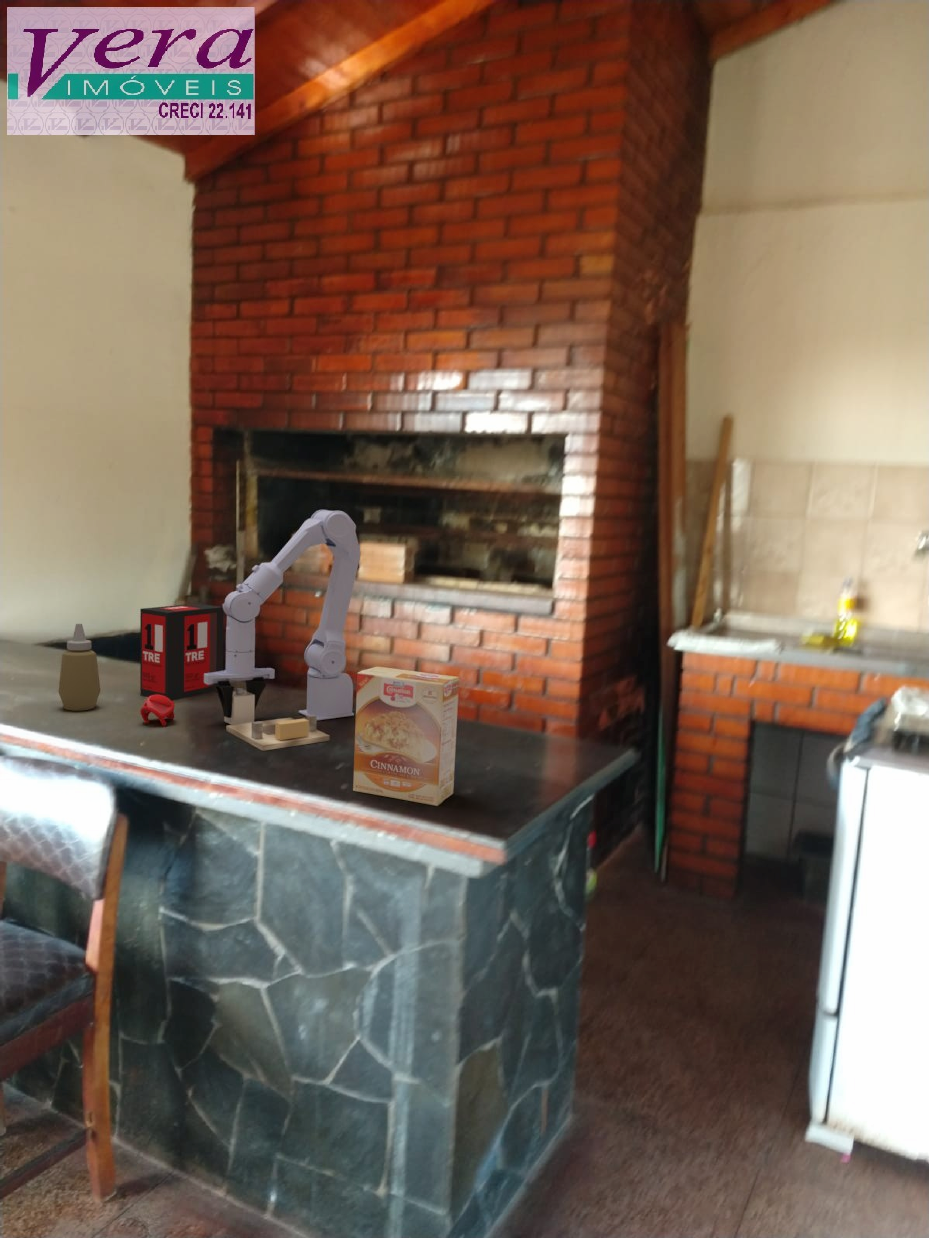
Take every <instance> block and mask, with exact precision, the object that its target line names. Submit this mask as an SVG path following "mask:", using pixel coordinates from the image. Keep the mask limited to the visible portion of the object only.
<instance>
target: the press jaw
mask: <svg viewBox="0 0 929 1238" xmlns="http://www.w3.org/2000/svg"><path fill="white" fill-rule="evenodd" d="M306 736H309V721H308V720H306V718H297V719H295V720H289V721H281V722H275V738H277V739H279V740H285V739H292V738H299V737H306Z"/></svg>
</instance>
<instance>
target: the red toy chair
mask: <svg viewBox="0 0 929 1238" xmlns="http://www.w3.org/2000/svg"><path fill="white" fill-rule="evenodd" d="M174 711H175V701H174V700H173V701H171V700H170V699H169V698H167V697H165V696H163V695H151V696H149V697H146V700H145V701H144V704H143V705H142V707H141V708H140V711H139V712H140V715H141V717H142V719H143V722H144V723H145V724H149V723H150V719H149V715H150V714H151V713H152V714H153V715H154V716H156V717H157V719H159V721H160V724H161V725H162V726H163V727H166V725H167V722H166V720H165V719H166V718H167V719H168V720H173V719H174V718H175V712H174Z"/></svg>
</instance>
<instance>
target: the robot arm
mask: <svg viewBox="0 0 929 1238" xmlns="http://www.w3.org/2000/svg"><path fill="white" fill-rule="evenodd" d="M355 523H356V522H354V521H353V519H352V518H351V516H349V514H348V513H346V512H345V511H342V510H328V509H319V510H316V511H315V512H314V513H313V514H312V515H311V517H310V518H307V519H306V520H304V522H303V523H302V524H301V526H300V527H299V529H298V530H297V531H296V532H295V533H294V534H293V535H292V537H291V538H290V539H289V540H288V542H286V544H285V545H284V546H283V547H282V549H280V551H279V552H278V553H277V555H275V557H273V559H272V560H271V561H269V562H261V563H260V564H259V565H258V564H256V565H254V566H253V567H252V568H251V571H252V573H251V574H250V575H249V576H248V577H247V578H246V579H245V580H244V581H243V582H242V583H238V584H237V585H236V589H237V590H235V591H231V592H230V593H228V595H226V597H225V599H224V603H222V607H223V610H224V613H225V615H226V627H225V630H226V631H225V669H224V670H223V671H218V672H213V673H205V674H204V683H205V684H207V685H210V684H213V686H214V688H215V690H216V691H215V692H216V693H217V695H218V698H219V701H220V704H221V708H222V711H223V717H224V716H225V717H227V718H231V714H232V696H233V692H234V691H235V687H234V686H233V685H232V684H231V683H230V682H243V681H244V682H245V687H246V691H247V692H249V693H252V694H254V695H255V708H254V716H255V713H256V710H257V706H258V703H259V700H260V698H261V695H262V694H263V691H264V689H265V688H266V687H267V680H265V679H272V680H273V679H275V669H274V668H271V667H266V668H265V667H263V668H262V667H261V668H258V667H255V663H256V662H255V661H256V660H255V656H256V655H255V653H256V652H255V651H256V649H255V648H256V627H255V626H256V617H257V616H259V614H260V612H261V605H263V604H264V603H265V601H267V600H268V598H269V597H271V595H272V594H273V593H274V592H276V590H277V589H278V588H279V586H280V585H282V584H283V582H284V573H285V572H286V570H288V569H289V568H290V567H291V566H292V565H293V564H294V563H295V562H296V561H297V560H298V559H299V558H300V557H301V556H302V555H303V554H304V553H305V552H306V551H307V550H308V549H310V547H313V546H318V545H323V544H325V546H326V547H327V548H328V549H329V551H330V552H331V554H332V555H333V563H332V567H331V571H330V576H329V580H328V583H327V584H328V586H327V589H326V594H325V597H324V603H323V607H322V611H321V615H320V619H319V620H320V621H319V625H318V628H317V629H316V631H315V632H314V633H313V634H312V637H311V641H310V643H309V644H308V645H307V647H306V648H305V651H304V654H303V657H304V661H305V663H306V665H307V666H308V670H307V684H306V685H307V686H306V687H307V688H306V709H301V710H298V713H299V714H301V715H304V716H305V717H306V715H312V714H313V715H316V716H317V721H322V720H323V721H324V720H330V719H336V718H337V719H338V718H339V719H340V718H344V717H352V716H353V717H354V716H355V712H353V704H354V703H353V702H354V701H353V699H354V684H353V681H352V680H353V679H352V678H351V676H350V675H349V674H348V673H346V672H345V673H344V672H343V671H344V670H345V668H346V665H347V657H346V652H345V651H346V645H347V643H346V640H345V635H344V630H345V625H346V621H347V616H348V612H349V607H350V603H351V598H352V595H353V589H354V586H355V580H356V576H357V572H358V567H359V563H360V559H361V550H360V549H361V548H360V544H359V540H358V536H357V533H356V530H357V525H356V524H355Z"/></svg>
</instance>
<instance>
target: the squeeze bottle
mask: <svg viewBox="0 0 929 1238" xmlns="http://www.w3.org/2000/svg"><path fill="white" fill-rule="evenodd" d="M74 627H75V628H74V631H73V636H72V639H71V640H67V641H66V649H67V650H65V651H64V652H63V653H62V654H61V662H60V663H61V664H60V671H59V672H60V674H59V681H58V682H59V683H58V695H59V697H60V699H61V703H62V705H63V708H64V710H68V711H73V712H80V711H87V710H88V711H89V710H92V709H95V708H96V706H97V701H98V699H99V696H100V693H101V684H100V682H101V681H100V674H99V667H98V658H97V657H98V656H97V653H96V652H95V651H94V650H92V640H90V639H89V640H88V639H86V635H85V631H84V627H83V624H82V623H75V626H74Z"/></svg>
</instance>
